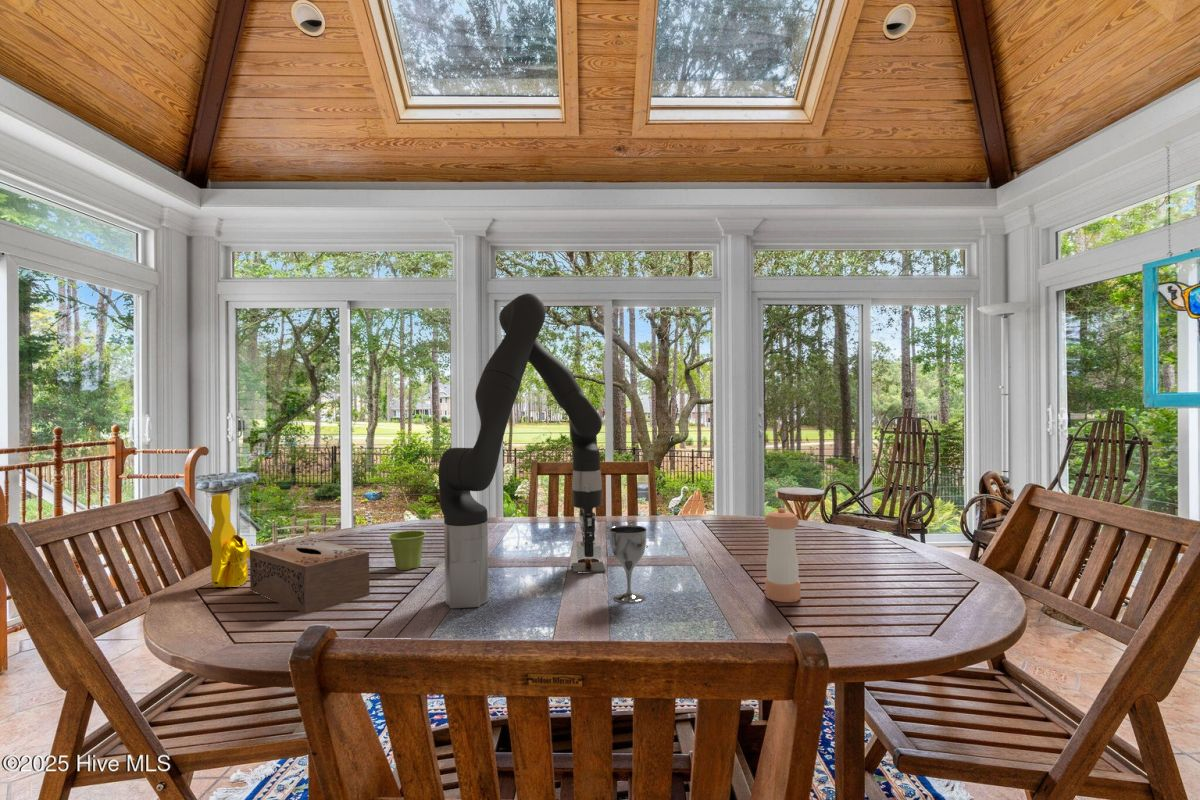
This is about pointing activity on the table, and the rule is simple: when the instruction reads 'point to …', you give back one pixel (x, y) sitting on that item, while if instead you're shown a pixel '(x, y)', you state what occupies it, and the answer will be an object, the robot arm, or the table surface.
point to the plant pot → (407, 548)
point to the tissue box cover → (309, 574)
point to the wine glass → (628, 556)
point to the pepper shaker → (782, 557)
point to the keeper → (588, 566)
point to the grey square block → (581, 550)
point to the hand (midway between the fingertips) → (588, 553)
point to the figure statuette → (227, 547)
